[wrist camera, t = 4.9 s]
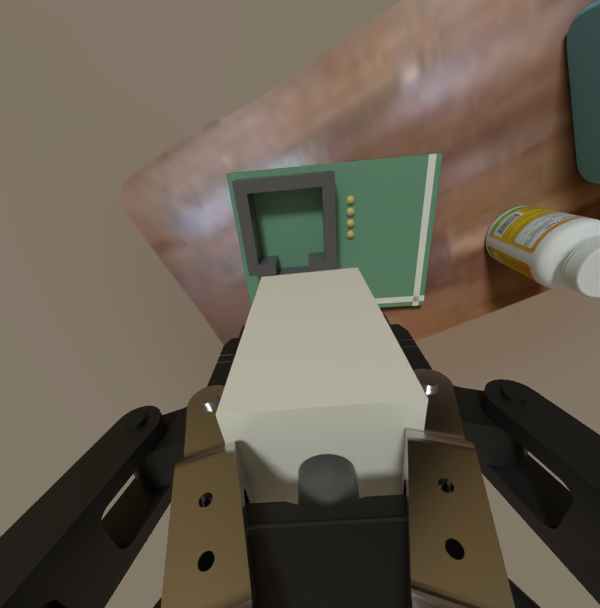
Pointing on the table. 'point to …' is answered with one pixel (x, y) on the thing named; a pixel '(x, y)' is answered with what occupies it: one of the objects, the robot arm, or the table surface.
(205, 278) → the table surface
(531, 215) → the supplement bottle
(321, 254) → the frame
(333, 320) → the plug
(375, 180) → the header board
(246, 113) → the table surface
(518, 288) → the table surface
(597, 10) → the data package
